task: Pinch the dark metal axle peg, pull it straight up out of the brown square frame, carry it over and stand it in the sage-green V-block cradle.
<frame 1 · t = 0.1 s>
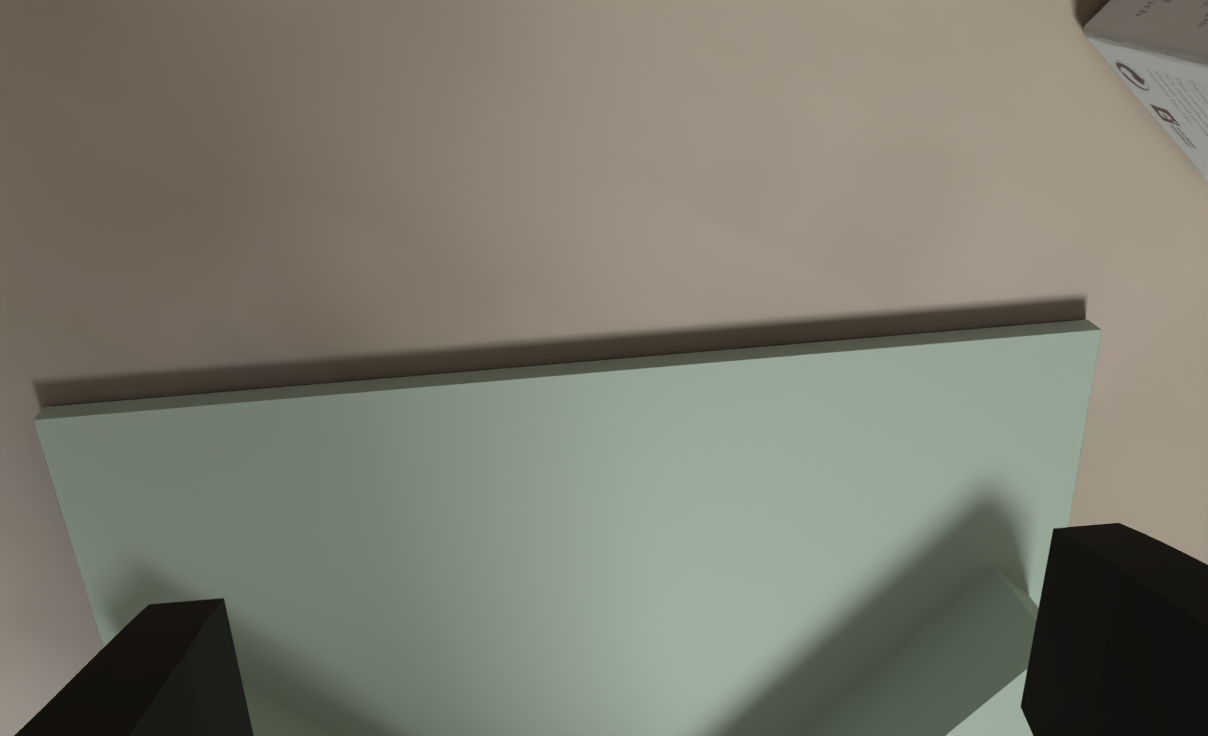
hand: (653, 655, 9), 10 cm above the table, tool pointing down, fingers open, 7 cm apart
sage V-block: (600, 626, 22), on the table
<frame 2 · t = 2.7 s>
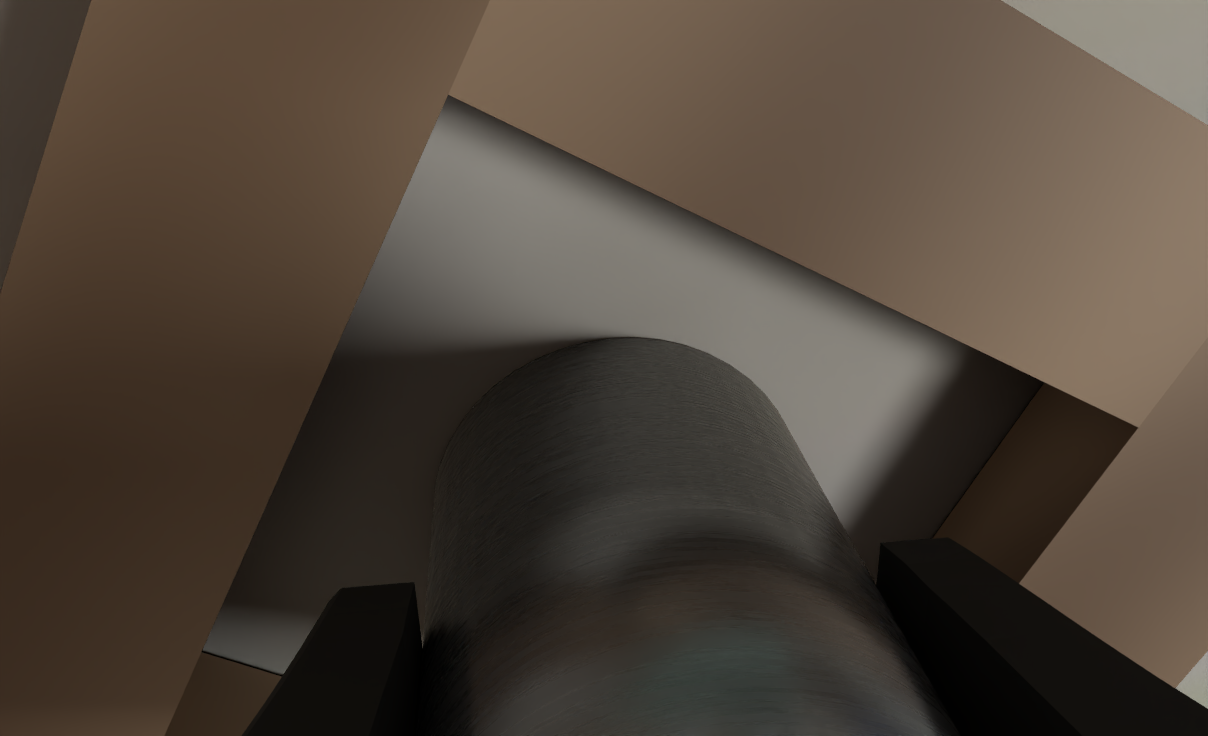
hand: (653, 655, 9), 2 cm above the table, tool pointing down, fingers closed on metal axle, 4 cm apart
brown square frame: (620, 508, 11), on the table
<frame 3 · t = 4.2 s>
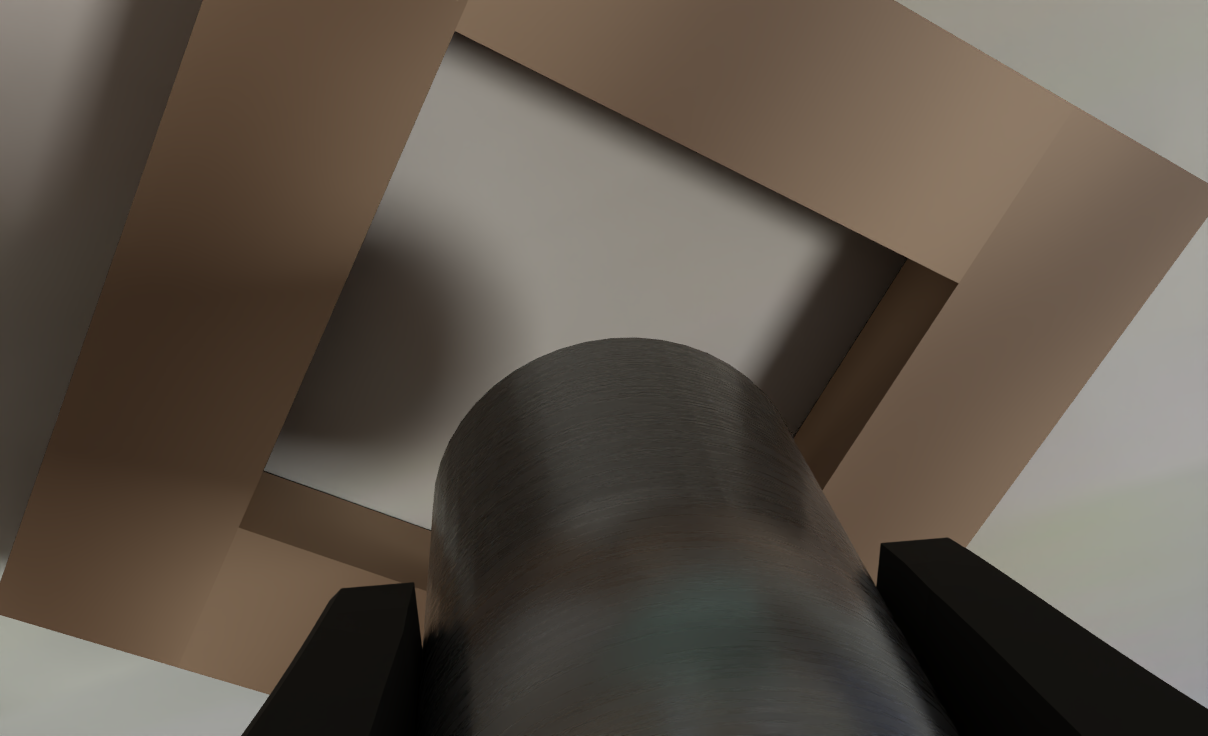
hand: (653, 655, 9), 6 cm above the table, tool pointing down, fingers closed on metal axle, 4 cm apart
brown square frame: (583, 359, 15), on the table
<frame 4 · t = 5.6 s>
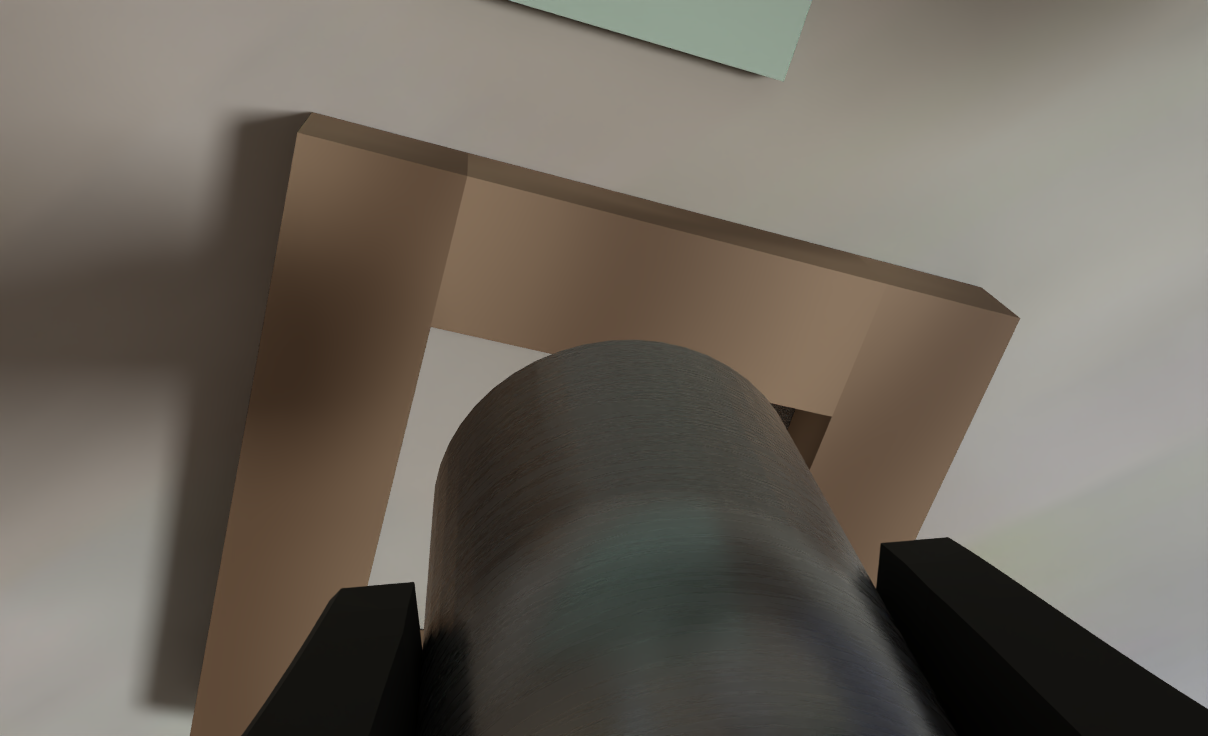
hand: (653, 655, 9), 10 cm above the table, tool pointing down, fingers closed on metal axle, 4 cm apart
brown square frame: (574, 502, 20), on the table
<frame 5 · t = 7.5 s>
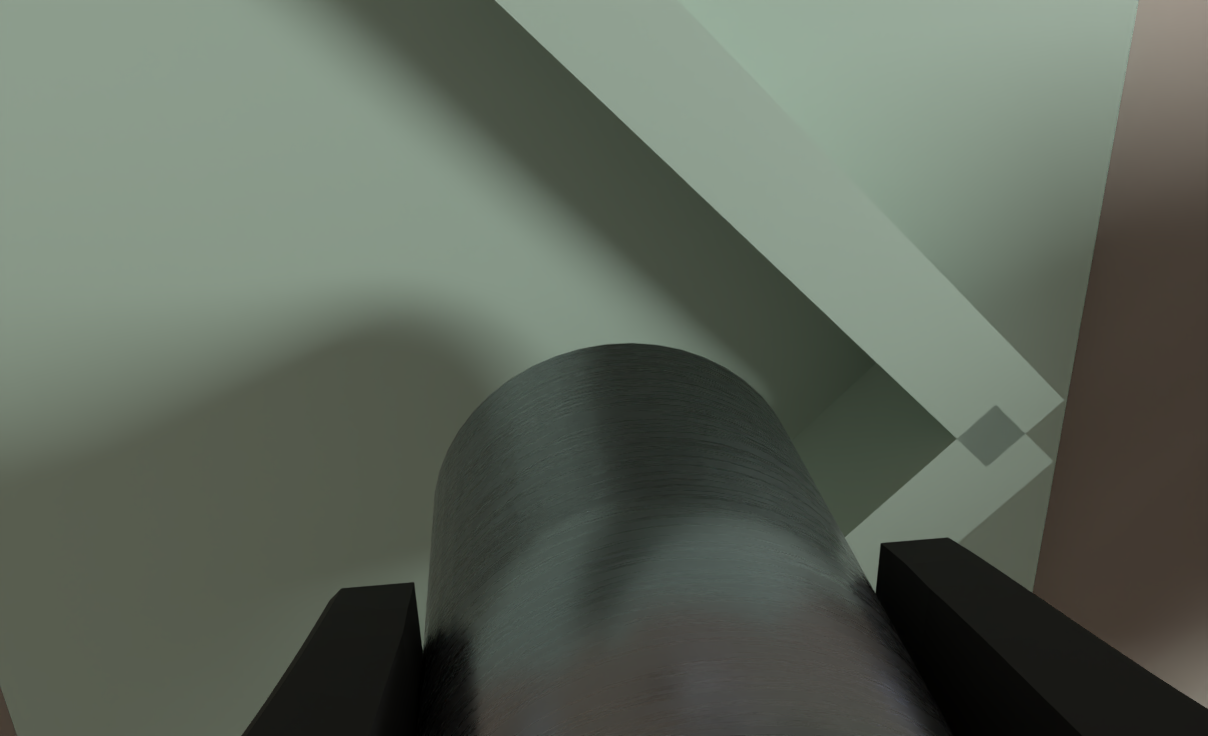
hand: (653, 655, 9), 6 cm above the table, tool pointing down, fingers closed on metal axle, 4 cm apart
sage V-block: (376, 373, 15), on the table
when the fingers open (4 cm above the table, at t = 8.8 s): metal axle drops 1 cm, resting on sage V-block.
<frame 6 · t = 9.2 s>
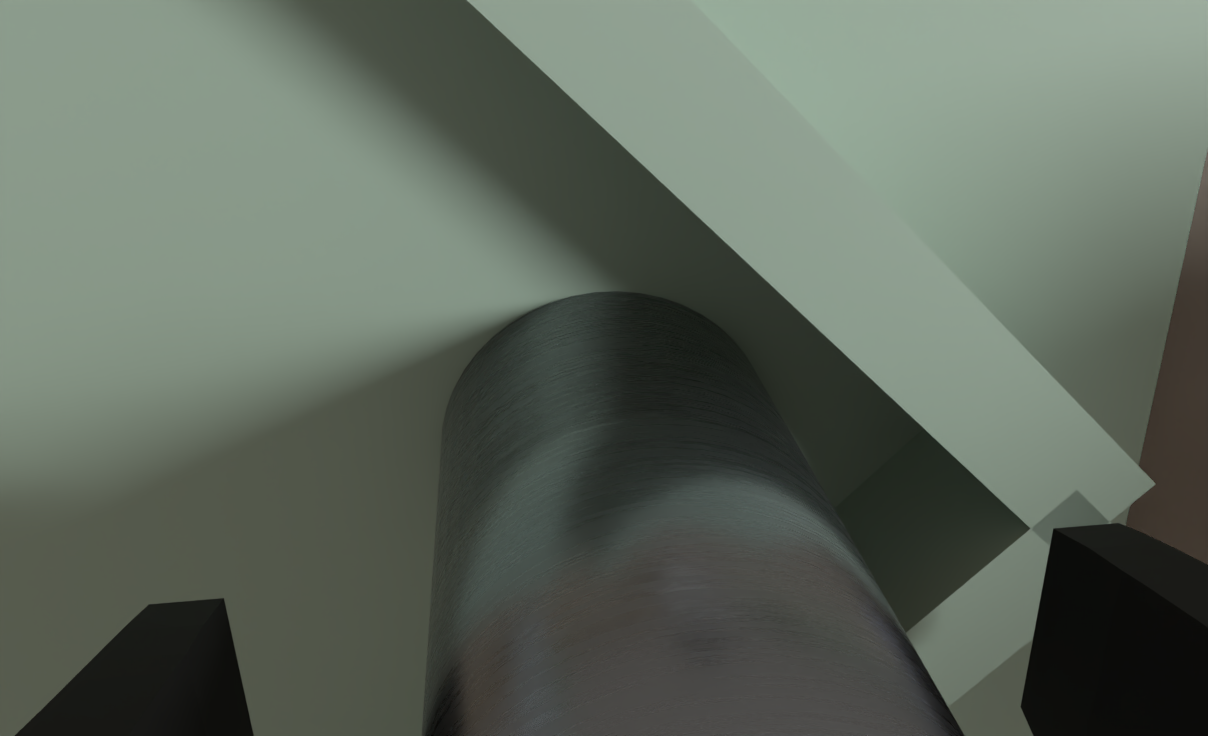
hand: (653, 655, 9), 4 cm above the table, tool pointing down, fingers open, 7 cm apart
sage V-block: (359, 440, 13), on the table
metal axle: (658, 665, 9), resting on sage V-block
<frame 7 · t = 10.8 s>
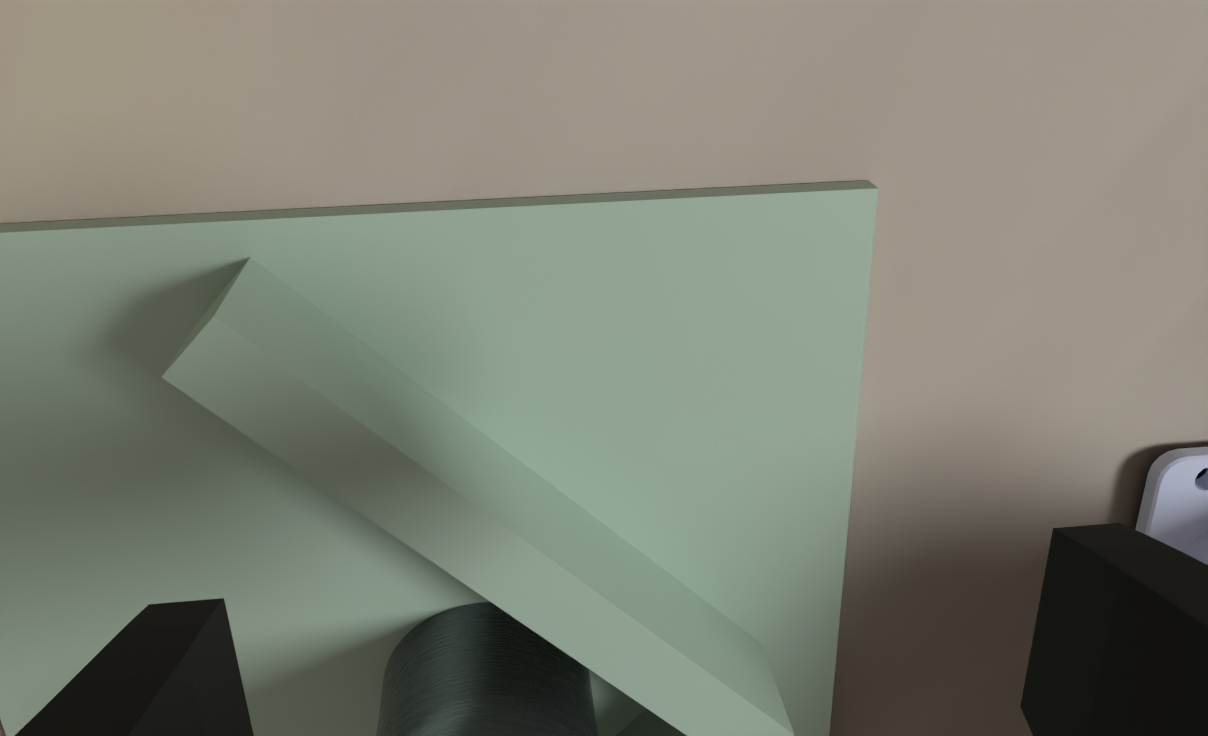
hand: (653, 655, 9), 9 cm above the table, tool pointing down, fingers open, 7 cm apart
sage V-block: (332, 680, 21), on the table
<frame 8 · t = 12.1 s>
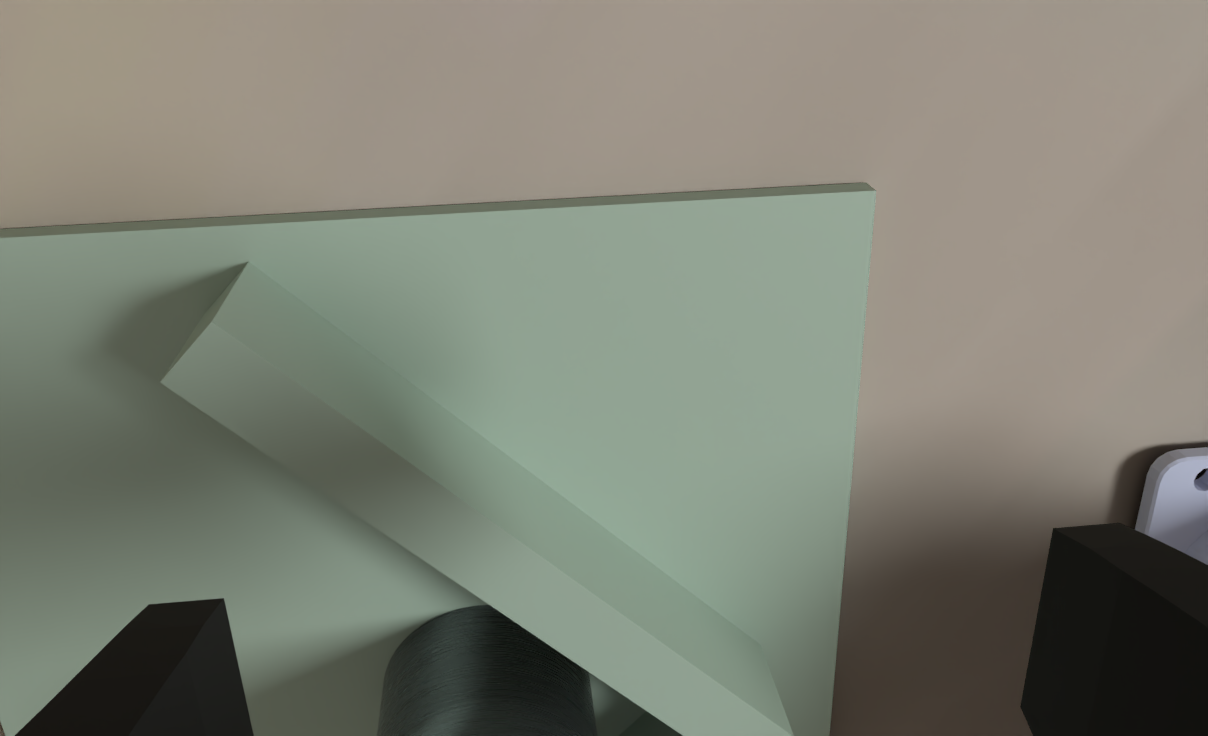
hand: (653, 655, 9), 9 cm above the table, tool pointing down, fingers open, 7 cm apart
sage V-block: (332, 683, 21), on the table
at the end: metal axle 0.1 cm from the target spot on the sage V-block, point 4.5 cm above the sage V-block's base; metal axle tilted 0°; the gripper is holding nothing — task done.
